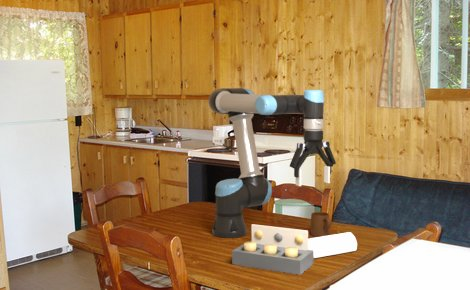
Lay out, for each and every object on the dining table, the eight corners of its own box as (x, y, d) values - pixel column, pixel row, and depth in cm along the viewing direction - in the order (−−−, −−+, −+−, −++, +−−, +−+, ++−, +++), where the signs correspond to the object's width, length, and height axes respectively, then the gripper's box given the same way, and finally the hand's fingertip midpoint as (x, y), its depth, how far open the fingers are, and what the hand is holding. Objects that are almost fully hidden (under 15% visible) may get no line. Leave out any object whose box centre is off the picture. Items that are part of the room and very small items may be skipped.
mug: (337, 239, 224) (338, 217, 223) (322, 241, 222) (322, 218, 221) (323, 232, 235) (323, 211, 235) (307, 234, 233) (307, 212, 232)
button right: (283, 260, 186) (283, 249, 186) (287, 257, 190) (287, 246, 189) (295, 262, 184) (294, 251, 183) (299, 259, 188) (299, 247, 187)
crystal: (312, 251, 195) (364, 242, 205) (302, 238, 200) (353, 229, 211) (306, 266, 199) (357, 256, 209) (297, 252, 204) (347, 243, 215)
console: (232, 264, 193) (231, 231, 192) (248, 254, 204) (248, 223, 203) (300, 275, 181) (300, 240, 180) (313, 264, 192) (313, 231, 191)
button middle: (262, 257, 190) (262, 246, 189) (267, 254, 194) (267, 243, 193) (273, 259, 188) (273, 248, 187) (278, 256, 192) (278, 245, 191)
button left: (242, 254, 193) (241, 243, 193) (247, 251, 197) (247, 240, 197) (252, 256, 191) (252, 245, 191) (258, 253, 195) (258, 242, 195)
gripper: (291, 131, 199) (291, 188, 201) (345, 129, 210) (344, 182, 212) (280, 130, 205) (280, 185, 207) (333, 128, 217) (332, 180, 219)
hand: (312, 184), depth 210 cm, fingers open, 13 cm apart
